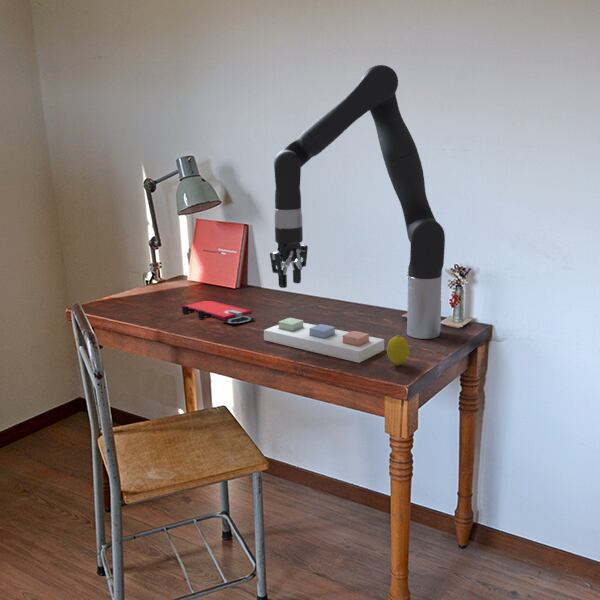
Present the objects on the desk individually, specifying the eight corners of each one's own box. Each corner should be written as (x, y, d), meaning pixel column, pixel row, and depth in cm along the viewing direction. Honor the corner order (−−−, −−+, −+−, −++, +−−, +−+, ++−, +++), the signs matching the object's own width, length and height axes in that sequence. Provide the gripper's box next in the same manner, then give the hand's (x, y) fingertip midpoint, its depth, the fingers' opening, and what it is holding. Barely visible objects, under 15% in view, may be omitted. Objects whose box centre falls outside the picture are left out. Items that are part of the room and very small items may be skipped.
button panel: (290, 329, 209) (290, 319, 208) (383, 350, 190) (384, 339, 189) (264, 340, 200) (263, 330, 199) (359, 362, 181) (359, 351, 180)
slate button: (320, 332, 198) (320, 323, 197) (335, 335, 195) (335, 326, 194) (309, 337, 194) (309, 328, 193) (324, 340, 191) (324, 331, 190)
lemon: (386, 368, 176) (386, 338, 174) (387, 361, 182) (387, 331, 180) (408, 369, 176) (409, 339, 173) (409, 362, 181) (409, 332, 179)
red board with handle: (229, 328, 212) (267, 318, 222) (229, 319, 211) (267, 310, 221) (171, 311, 233) (208, 303, 243) (171, 303, 232) (208, 295, 242)
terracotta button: (353, 339, 191) (353, 330, 191) (369, 342, 188) (369, 333, 188) (342, 344, 187) (342, 335, 187) (358, 347, 184) (358, 338, 184)
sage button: (289, 325, 204) (289, 317, 204) (303, 328, 201) (303, 320, 201) (278, 330, 201) (278, 321, 200) (292, 333, 198) (292, 324, 197)
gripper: (294, 220, 201) (295, 278, 205) (260, 227, 190) (262, 288, 194) (315, 222, 196) (316, 281, 201) (282, 229, 186) (284, 292, 190)
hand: (290, 284), depth 198 cm, fingers open, 5 cm apart
